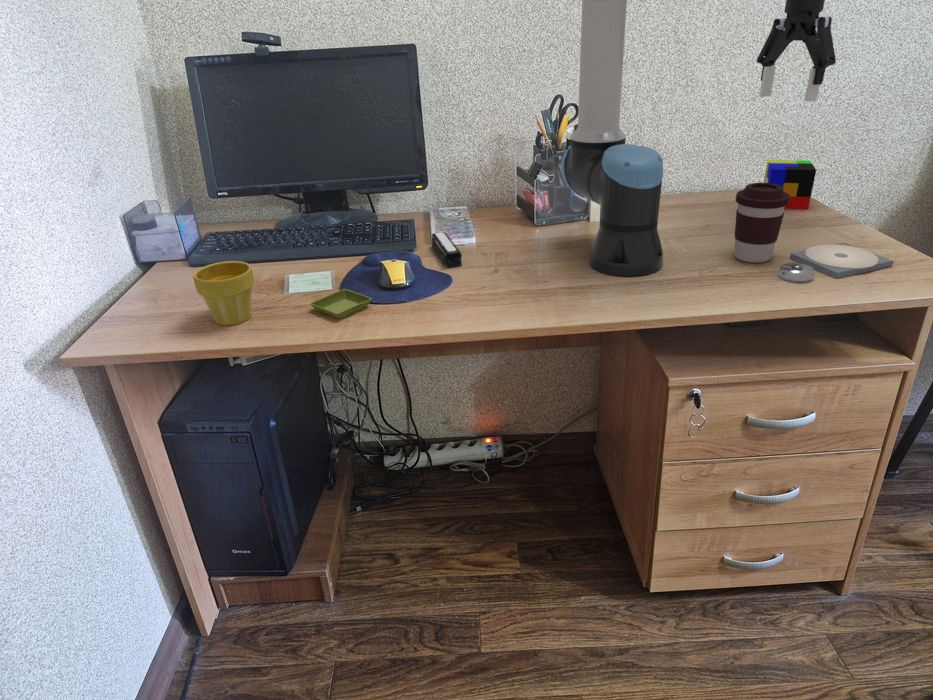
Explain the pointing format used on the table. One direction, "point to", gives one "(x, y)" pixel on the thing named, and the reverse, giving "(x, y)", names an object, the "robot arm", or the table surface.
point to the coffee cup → (758, 221)
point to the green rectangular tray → (341, 303)
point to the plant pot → (226, 290)
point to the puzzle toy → (792, 180)
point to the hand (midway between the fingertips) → (786, 98)
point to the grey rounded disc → (796, 272)
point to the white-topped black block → (446, 250)
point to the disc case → (840, 259)
